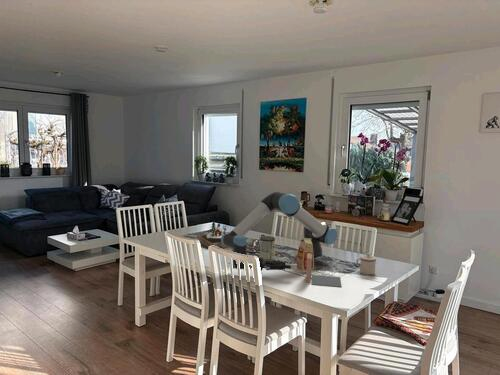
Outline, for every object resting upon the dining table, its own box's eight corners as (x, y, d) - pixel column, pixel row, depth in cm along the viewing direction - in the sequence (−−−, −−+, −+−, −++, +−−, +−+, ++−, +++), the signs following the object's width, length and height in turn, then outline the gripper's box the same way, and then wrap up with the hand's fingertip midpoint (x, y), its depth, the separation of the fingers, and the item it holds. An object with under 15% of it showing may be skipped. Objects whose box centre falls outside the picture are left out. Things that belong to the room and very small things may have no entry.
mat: (311, 284, 205) (311, 284, 205) (312, 275, 220) (312, 274, 220) (341, 287, 203) (341, 286, 202) (340, 277, 217) (340, 277, 217)
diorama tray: (228, 236, 310) (228, 232, 310) (245, 244, 286) (245, 239, 286) (196, 240, 296) (196, 235, 295) (211, 249, 272) (211, 243, 271)
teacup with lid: (377, 272, 228) (378, 253, 227) (371, 276, 222) (372, 256, 220) (359, 267, 236) (360, 249, 235) (352, 271, 230) (353, 252, 228)
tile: (305, 282, 208) (306, 258, 207) (306, 276, 218) (307, 253, 217) (310, 283, 208) (311, 258, 206) (311, 277, 218) (312, 253, 216)
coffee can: (259, 255, 258) (260, 235, 256) (274, 256, 257) (275, 236, 255) (258, 260, 248) (259, 239, 246) (274, 261, 247) (275, 240, 245)
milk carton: (303, 271, 227) (304, 239, 225) (294, 267, 235) (295, 235, 233) (315, 269, 231) (316, 237, 229) (306, 265, 239) (307, 234, 237)
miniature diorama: (203, 245, 282) (203, 223, 280) (208, 239, 302) (208, 218, 300) (229, 246, 281) (229, 224, 279) (233, 240, 300) (233, 219, 299)
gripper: (257, 266, 225) (297, 269, 220) (253, 273, 212) (295, 277, 208) (257, 254, 224) (297, 257, 219) (254, 260, 211) (296, 264, 207)
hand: (296, 266), depth 214 cm, fingers closed
